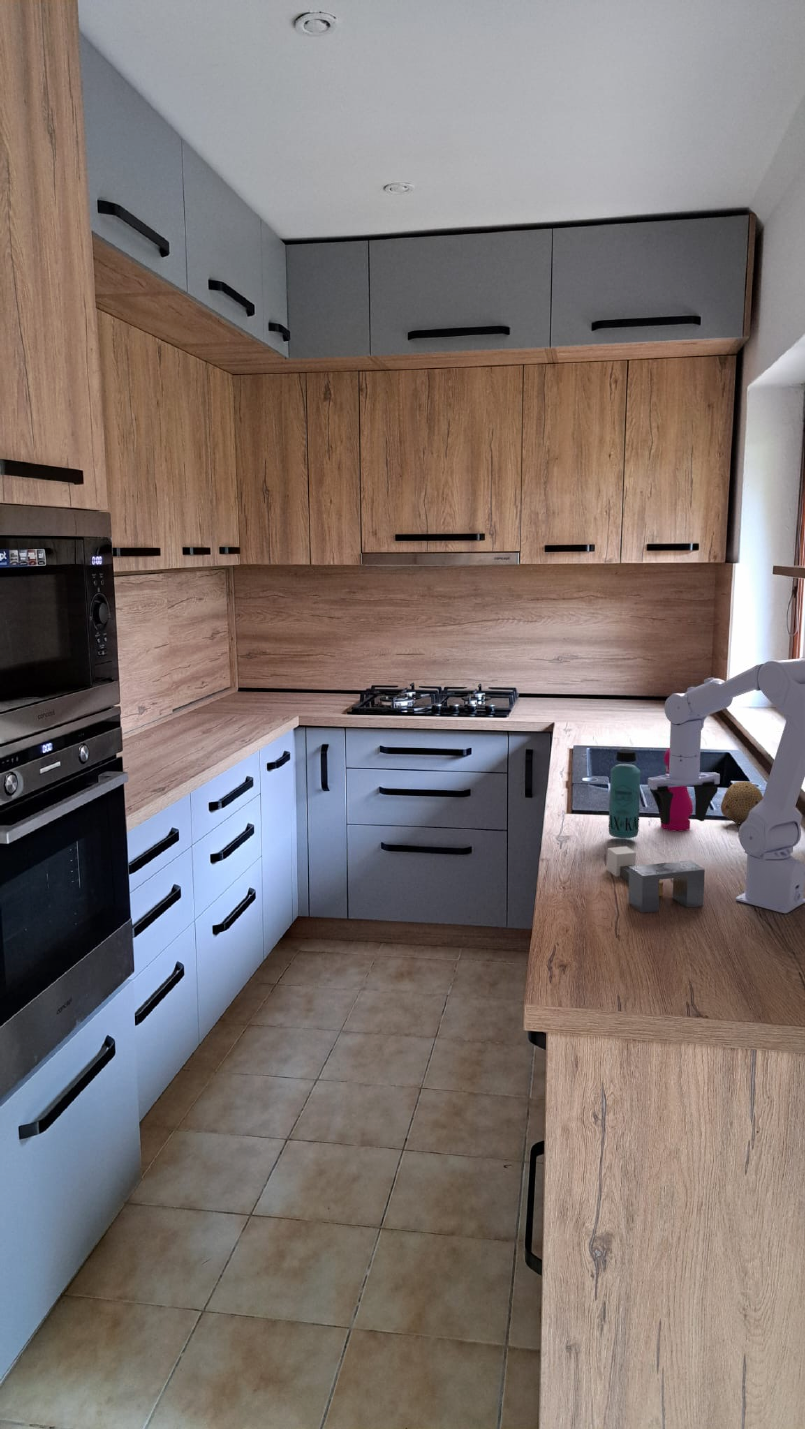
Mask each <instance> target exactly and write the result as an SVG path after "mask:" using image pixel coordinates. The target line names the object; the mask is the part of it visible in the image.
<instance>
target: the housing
mask: <svg viewBox="0 0 805 1429" xmlns="http://www.w3.org/2000/svg"><path fill="white" fill-rule="evenodd" d="M705 870H706V869H705V868H703V867H702V866H699V865H698V864H697V863H695V862H694V861H692V860H690V859H689V860H682V861H670V862H664V863H663V862H662V863H661V862H660V863H651V864H644V865H643V864H642V865H635V866H632V867H629V883H628V904H629V905H630V906H632V907H633V908H634V909H636V910H637V911H638V912H640V914H644V913H646V912H647V913H653V912H659V905H660V896H659V881H662V880H668V879H669V880H670V879H672V899H674V900H675V901H677V902H678V903H679V904H680V905H682V906H683V907H685V908H686V909H687V908H688V909H689V908H696V907H704V899H705V898H704V896H705V895H704V894H705V872H706V871H705Z"/></svg>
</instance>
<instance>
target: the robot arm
mask: <svg viewBox="0 0 805 1429" xmlns="http://www.w3.org/2000/svg"><path fill="white" fill-rule="evenodd" d="M753 691H757V692H758V691H760V692H762V694H763V696H765V697H766V699H767V700H768V701H769V702H770V703H771V704H772V705H773V706H774V707H775V709H776V710H777V711H778V712H779V713H780V714H781V715H783V716H784V718H785V720H786V721H785V723H784V728H783V731H782V733H781V737H780V740H779V743H778V746H777V750H776V754H775V756H774V759H773V763H772V765H771V770H770V774H769V776H768V780H767V782H766V786H765V789H764V792H763V794H762V796H763V798H762V800H761V801H760V802H759V803H758V804H757V805H756V806H755V807H754V808H753V809H752V810H751V811H750V812H749V815H748V818H747V819H746V821H745V822H743V823H742V824H740V827H738V828H739V829H738V839H739V840H738V841H739V843H740V846H741V847H742V849H743V850H744V854H746V870H745V871H746V872H745V873H746V876H745V890H744V891H745V892H743V893H741V894H739V895H738V896H736V897H735V901H737V902H742V903H745V904H748V905H752V906H756V907H759V908H763V909H766V910H769V911H770V910H771V911H774V912H777V913H781V914H789V912H791V911H793V910H794V909H796V908H797V907H800V906H801V905H802V904H804V903H805V863H804V862H803V861H802V860H800V859H797V858H796V857H794V856H792V855H791V854H793V852H794V847H795V846H797V845H798V844H799V843H800V841H801V839H802V837H801V836H802V828H801V823H802V819H803V814H802V813H801V812H800V811H799V810H798V808H797V807H796V804H797V802H798V799H799V796H800V793H801V790H802V787H803V783H804V781H805V656H803V657H800V658H792V659H784V660H768V661H766V662H763V663H760V664H759V663H758V664H755V666H752V667H750V668H748V669H746V670H744V671H743V672H740V673H739V674H737V675H735V676H733V677H732V678H729V679H727V680H723V679H721V678H715V677H707V678H705V679H703V683H702V684H700V685H698V686H690V687H687V689H686V692H685V693H683V692H682V693H675V692H674V693H671V695H670V696H669V697H667V698H666V700H665V702H664V713H665V714H664V715H665V717H666V719H667V720H668V721H669V722H670V729H669V734H670V735H669V749H670V758H669V774H666V773H665V774H663V775H662V774H661V775H658V776H654V777H648V778H647V788H648V789H649V792H650V793H651V795H652V797H653V799H654V801H655V804H656V806H657V811H658V813H659V818H660V819H659V820H660V824H661V823H663V824H665V825H669V822H670V807H671V802H672V798H673V795H674V794H673V793H672V792H670V791H669V789H668V787H679V786H687V787H688V786H693V789H694V800H695V805H694V806H695V808H694V809H695V810H694V813H695V814H694V816H695V819H696V820H698V821H699V822H705V819H706V815H707V812H708V811H709V810H708V809H709V808H710V807H709V806H710V805H711V802H712V801H713V799H714V797H715V796H716V794H717V793H718V786H716V785H719V784H720V780H721V775H720V773H717V772H715V771H714V772H713V771H712V772H701V771H700V770H701V768H700V767H701V742H702V741H701V740H702V739H701V738H702V730H703V729H704V723H705V720H706V719H707V717H708V716H709V715H712V714H714V713H718V712H720V711H723V710H724V709H727V708H728V707H730V706H731V705H732V703H733V699H734V698H736V697H738V696H741V695H744V694H746V693H747V694H748V693H750V692H753Z"/></svg>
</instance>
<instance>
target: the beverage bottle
mask: <svg viewBox="0 0 805 1429" xmlns="http://www.w3.org/2000/svg"><path fill="white" fill-rule="evenodd" d="M615 758H616V759H615V760H616V761H618V762H621V763H620V764H619V763H618V764H616V765H614V766H613V767H611V769H610V786H609V788H610V791H609V802H608V827H607V828H608V834H609V835H610V836H611V837H614V838H616V839H617V838H618V839H633V838H636V837H637V836H638V834H639V832H640V829H639V827H640V819H641V818H640V816H641V814H640V811H641V809H640V800H641V796H640V793H641V792H640V790H641V770H640V769H639V768H638V767H637V766H636V765H635V764H629V763H631V762H632V763H633V762H636V761H637V753H636V751H635V749H634V750H633V749H629V748H626V749H625V748H623V749H622V748H621V749H618V750H617V751H616V757H615Z"/></svg>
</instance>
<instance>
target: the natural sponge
mask: <svg viewBox="0 0 805 1429" xmlns="http://www.w3.org/2000/svg"><path fill="white" fill-rule="evenodd" d="M762 798H763V794H762V791H761V790H760V789H759V787H757V786H756V784H753V783H752V782H750V781H745V780H744V781H740V780H739V781H735V782H734V783H732V784H731V785H730V786H728V788H727V789H726V791H725V793H724V795H723V798H722V801H721V804H720V812H721V813H722V815H723V816H724V817H726V818H727V819H729V820H731V821H732V822H734V823H735V824H738V825H742V823H743V822H745V821H746V819H747V818H748V815H749V812H750V811H751V810H752V809H753V808H754V807H755V806H756V805H757V804H758V803H759V802H760V801H761V800H762Z"/></svg>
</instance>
